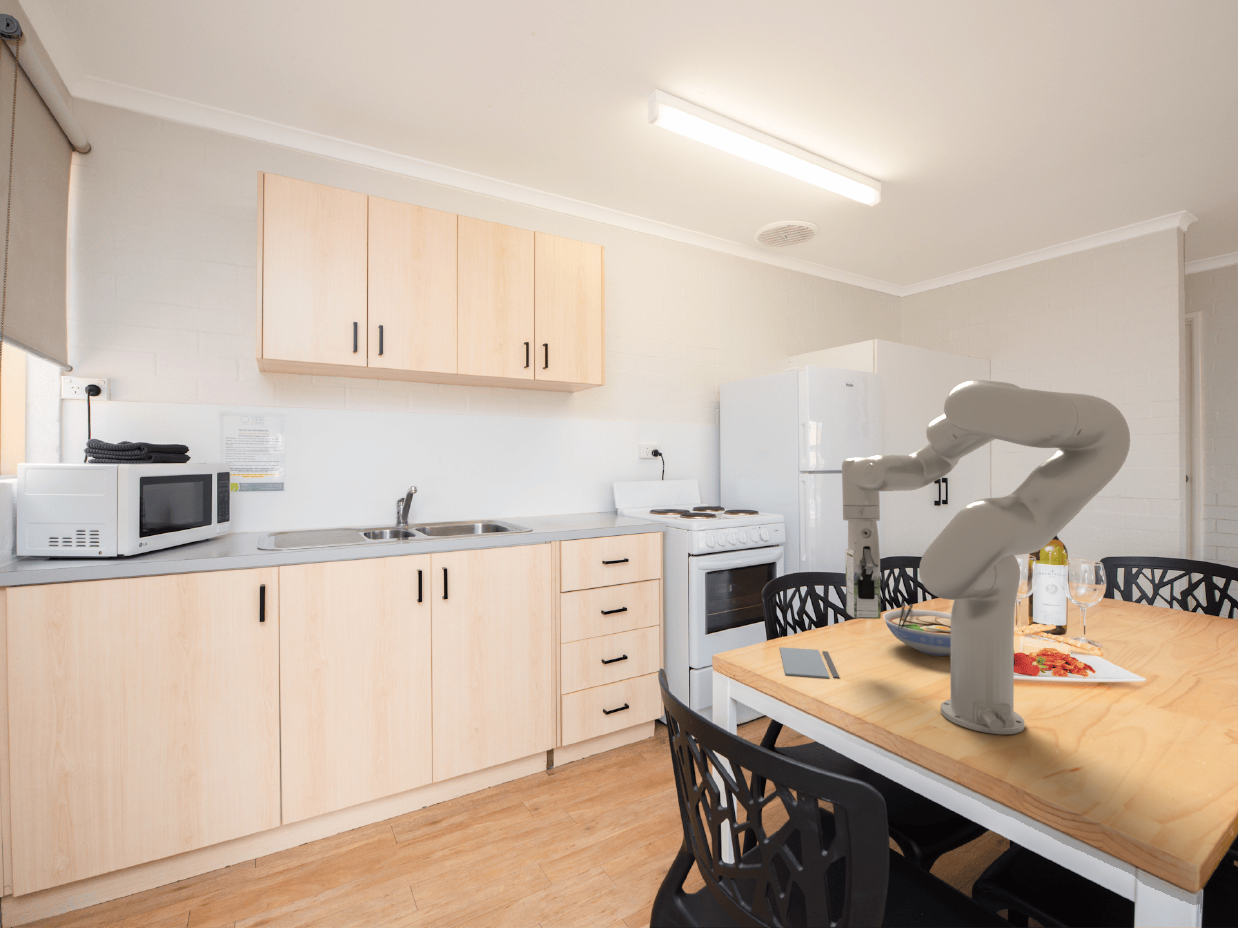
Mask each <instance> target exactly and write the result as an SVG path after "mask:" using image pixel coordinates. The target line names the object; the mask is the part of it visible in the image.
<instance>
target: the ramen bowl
mask: <svg viewBox="0 0 1238 928" xmlns="http://www.w3.org/2000/svg"><path fill="white" fill-rule="evenodd" d="M901 605H902V606H901V609H896V610H890V611H887V612H885V613H883V614H882V617H883V620H884V621H885V624H886V626H887V628H888V629H889V631H890V632H891V634H893V636H894V637H895V638H896V639H897V640H899V641H900V642H902V643H903V644H905V645H906V646H909V647H910V648H913V649H916V651H918V652H920V653H922V654H924V655H929V656H936V657H947V656H951V613H949V612H943V611H937V610H927V609H926V610H925V609H913V606H914V605H913V603H910V604H909V606H908V609H906V603H905V602H903V603H902V604H901Z"/></svg>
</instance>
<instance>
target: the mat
mask: <svg viewBox="0 0 1238 928" xmlns="http://www.w3.org/2000/svg"><path fill="white" fill-rule="evenodd" d="M779 651H780V656H781V661H782V665H783V666H782V667H783V671H784V675H785V676H791V677H792V676H793V677H805V678H806V677H807V678H820V679H830V675H829V672H828V670H827V668H826V664H825V663H824V660H823V658H822V656H821V653H820V651H819V649H810V648H799V647H797V648H796V647H782V646H779Z"/></svg>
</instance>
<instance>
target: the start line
mask: <svg viewBox="0 0 1238 928" xmlns="http://www.w3.org/2000/svg"><path fill="white" fill-rule="evenodd" d="M822 654H823V656H824V659H825V661H827V662H826V663H827V666H828V669H829V671H830V673H831V676H832V678H833V679H840V674H839V673H838V671H837V668H836V666H835V665H834V662H833V660H832V658H831V655H830V653H829V651H827V650H826V651H824V650H822Z"/></svg>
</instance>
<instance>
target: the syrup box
mask: <svg viewBox="0 0 1238 928" xmlns="http://www.w3.org/2000/svg"><path fill="white" fill-rule="evenodd" d="M844 551H845V556H844V557H845V595H846V596H845V599H846V600H845V603H846V606H845V609H846V610H845V611H846V613H847V614H848V615H849V616H850V617H852V618H853V619H864V620H865V619H866V620H867V619H869V620H873V619H875V620H876V619H877V620H878V619H879V620H880V619H881V618H882V617H881V616H882V614H881V611H882V610H881V565H880V566H879V567H876V566H877V565H875V564H873V574H874V593H875V598H874V599H859V598H858V580H859V568H858V566H856V565H855V559H854V552H853V551H851V550H850V549H848V548H847V549H845V550H844ZM860 562H861V560H860ZM872 563H874V562H873V559H872ZM861 565H865V563H863V562H861ZM862 573H863V569H862Z"/></svg>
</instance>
